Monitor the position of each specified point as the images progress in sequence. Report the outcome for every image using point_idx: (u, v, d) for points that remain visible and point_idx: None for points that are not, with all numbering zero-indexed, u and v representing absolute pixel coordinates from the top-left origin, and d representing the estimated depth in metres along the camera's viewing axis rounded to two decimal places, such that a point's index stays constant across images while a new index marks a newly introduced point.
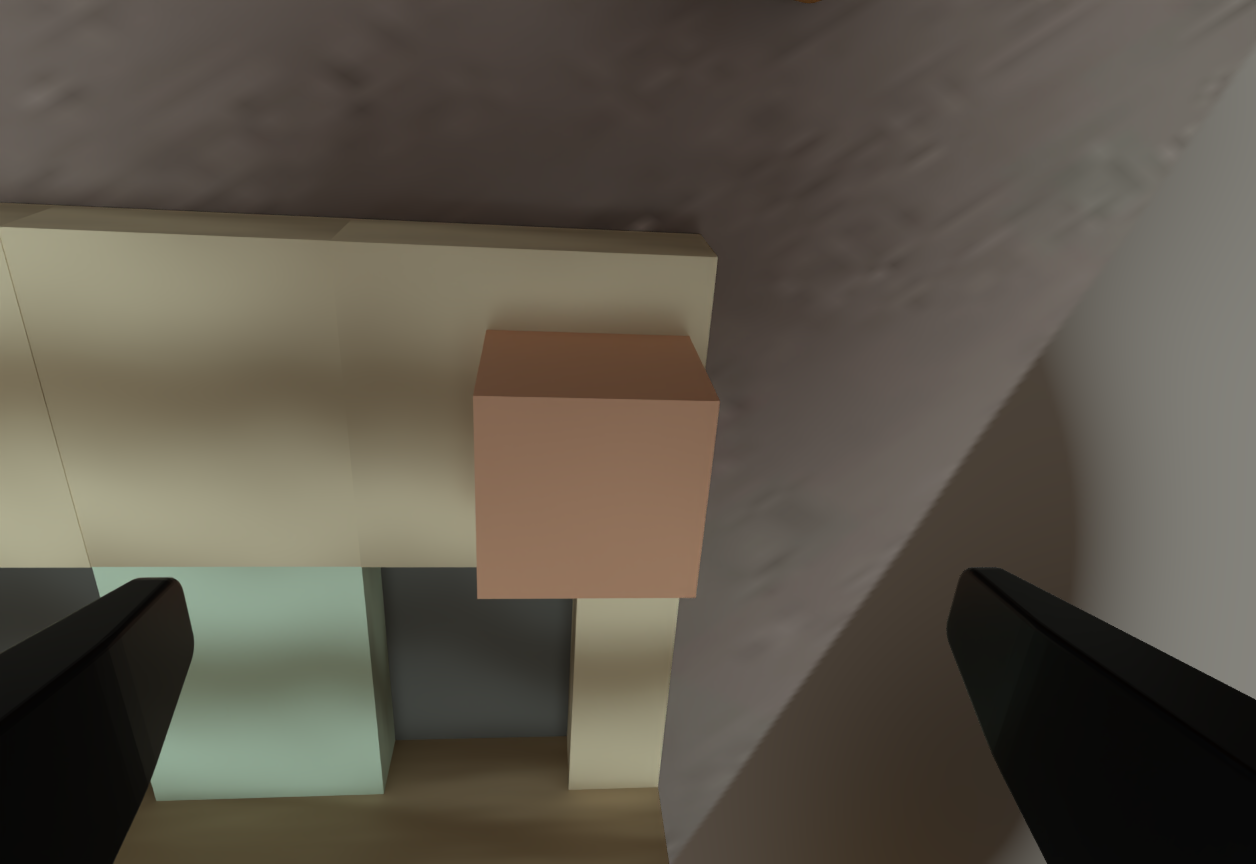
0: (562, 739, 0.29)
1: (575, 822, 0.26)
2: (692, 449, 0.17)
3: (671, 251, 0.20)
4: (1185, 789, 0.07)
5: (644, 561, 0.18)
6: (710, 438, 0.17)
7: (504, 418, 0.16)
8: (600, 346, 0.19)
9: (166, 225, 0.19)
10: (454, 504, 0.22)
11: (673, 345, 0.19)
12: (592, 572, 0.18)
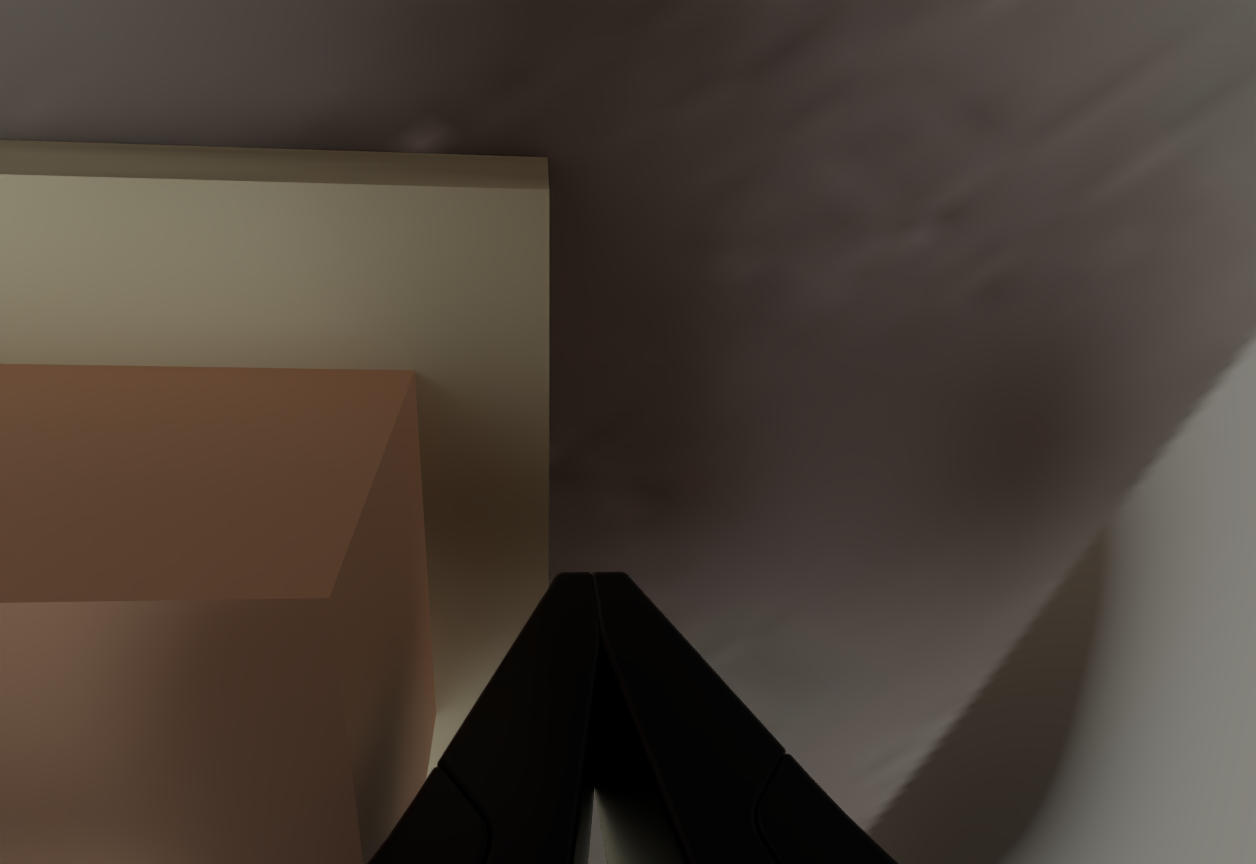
0: None
1: None
2: (277, 727, 0.06)
3: (444, 180, 0.08)
4: (644, 813, 0.06)
5: None
6: (324, 699, 0.06)
7: None
8: (153, 404, 0.08)
9: None
10: None
11: (353, 396, 0.08)
12: None
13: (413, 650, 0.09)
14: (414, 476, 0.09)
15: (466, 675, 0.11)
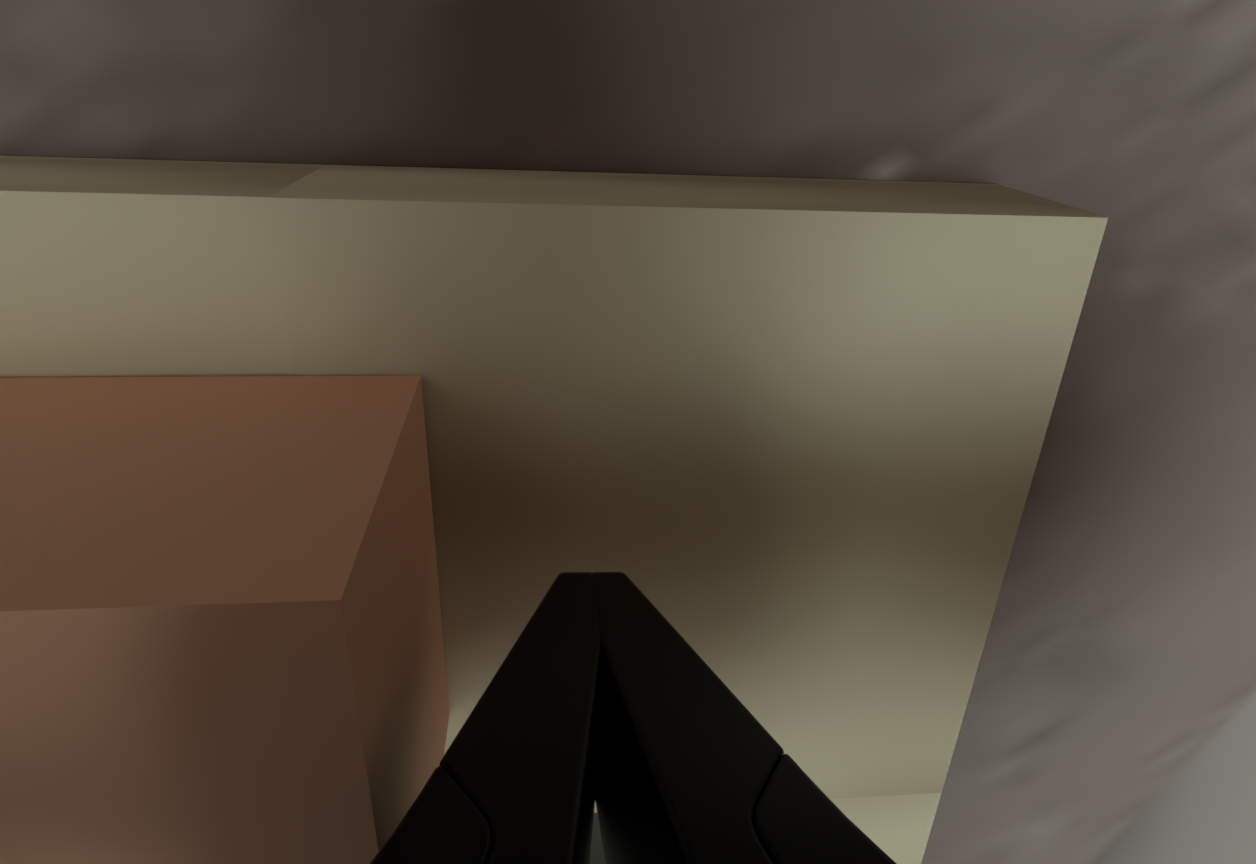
0: None
1: None
2: (293, 728, 0.06)
3: (1000, 208, 0.09)
4: (643, 813, 0.06)
5: None
6: (339, 699, 0.06)
7: None
8: (167, 414, 0.08)
9: None
10: None
11: (361, 401, 0.08)
12: None
13: (425, 650, 0.09)
14: (423, 479, 0.09)
15: (908, 661, 0.12)
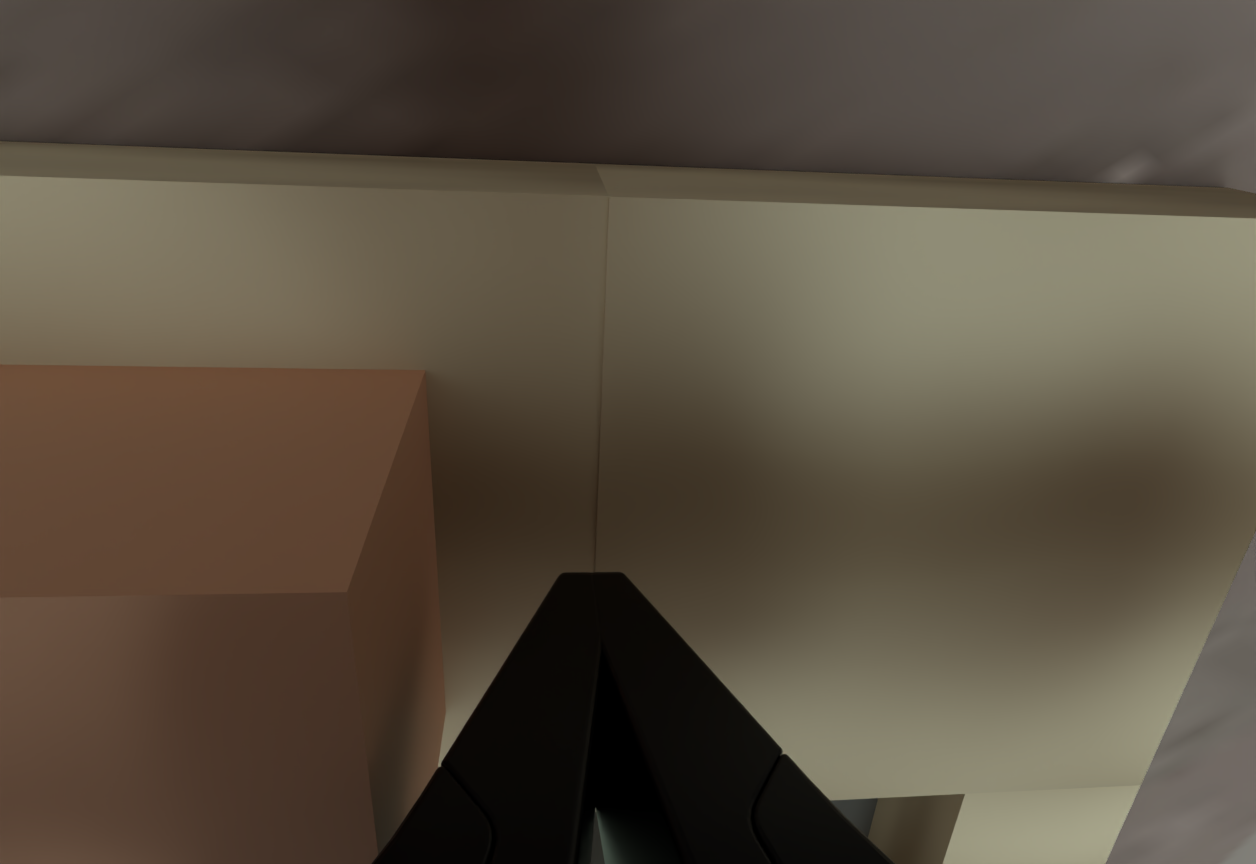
0: None
1: None
2: (295, 721, 0.06)
3: None
4: (641, 813, 0.06)
5: None
6: (341, 692, 0.06)
7: None
8: (168, 403, 0.08)
9: (243, 171, 0.09)
10: (770, 702, 0.12)
11: (365, 394, 0.08)
12: None
13: (424, 647, 0.09)
14: (425, 475, 0.09)
15: (1132, 655, 0.12)
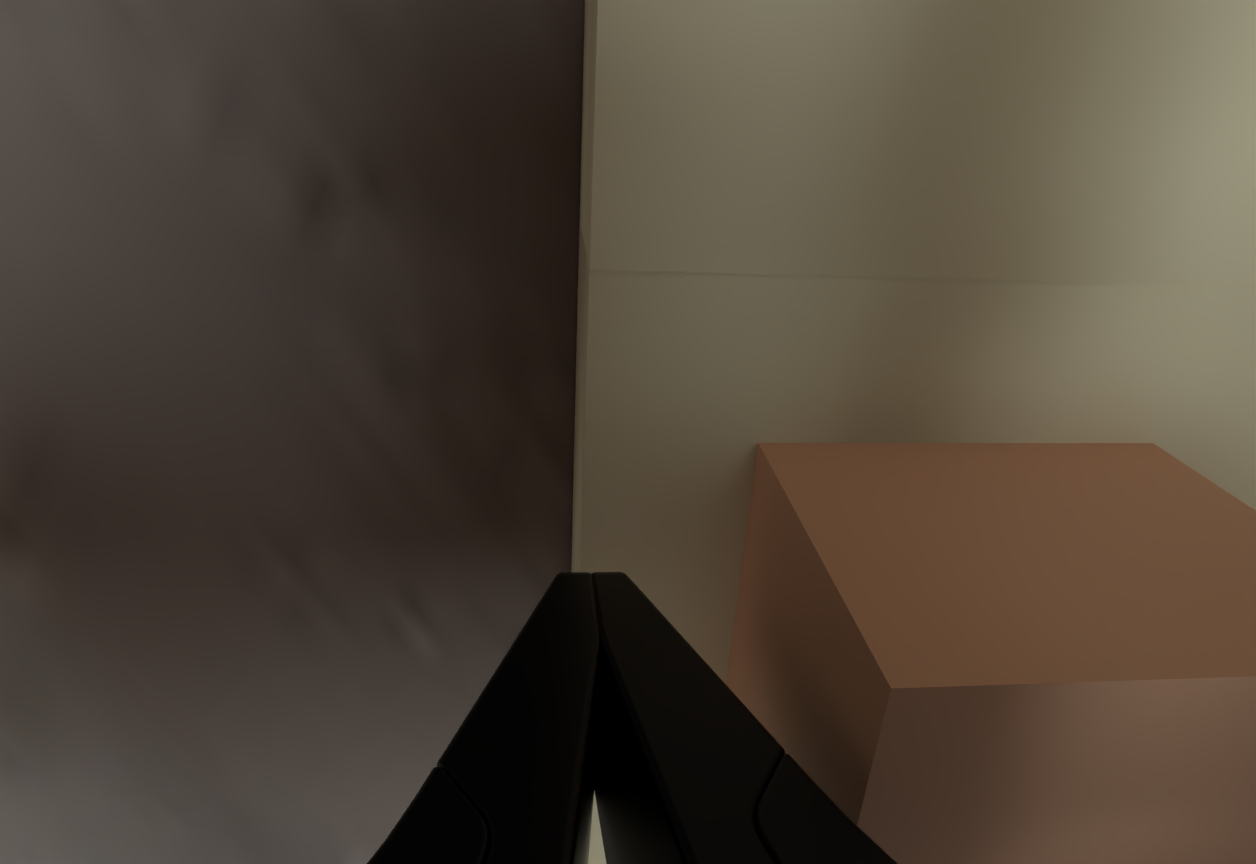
0: None
1: None
2: (1019, 729, 0.06)
3: None
4: (643, 813, 0.06)
5: None
6: (998, 697, 0.06)
7: None
8: (754, 652, 0.10)
9: (577, 538, 0.11)
10: None
11: (767, 511, 0.09)
12: None
13: (1041, 497, 0.09)
14: (859, 461, 0.09)
15: None
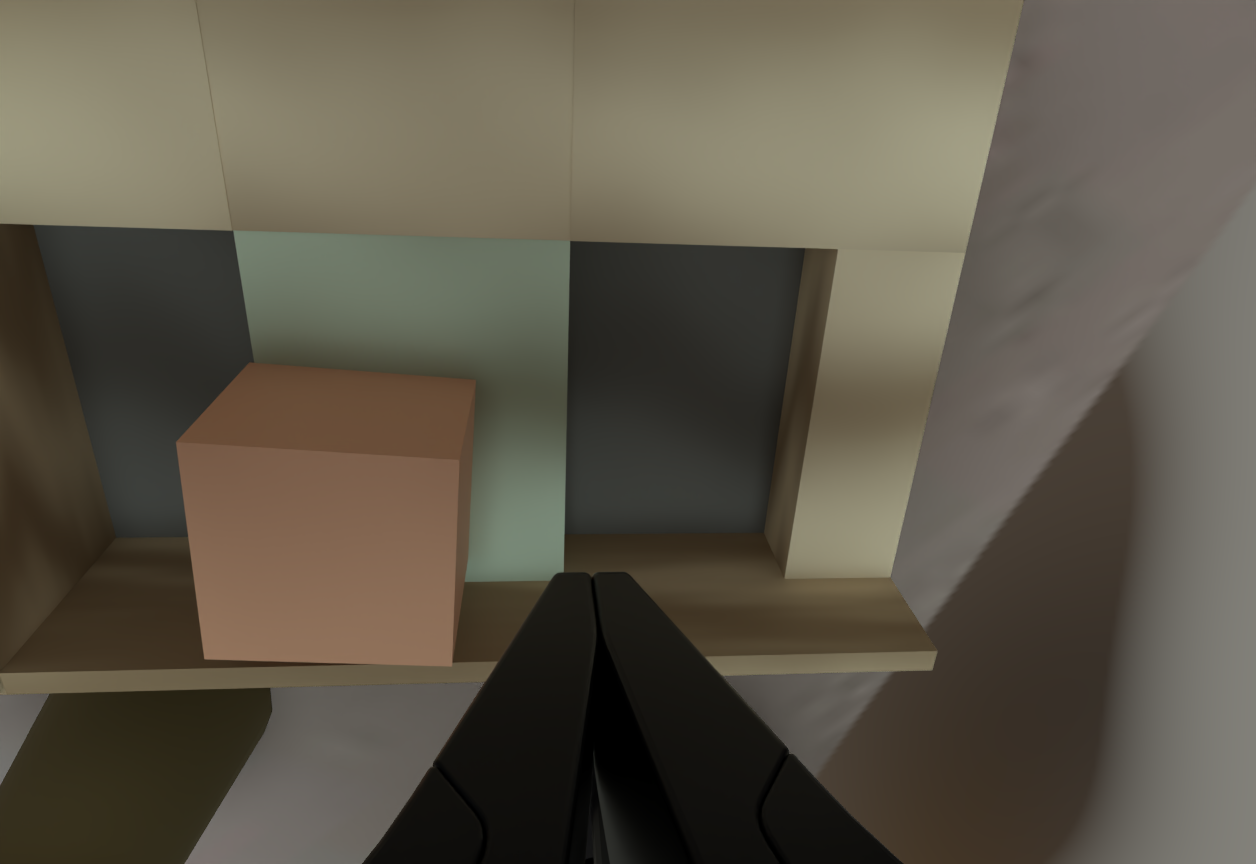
0: (759, 535, 0.24)
1: (804, 607, 0.21)
2: (432, 509, 0.16)
3: None
4: (648, 812, 0.06)
5: (390, 626, 0.17)
6: (452, 499, 0.15)
7: (215, 468, 0.15)
8: (365, 388, 0.18)
9: None
10: (696, 146, 0.17)
11: (450, 389, 0.18)
12: (332, 635, 0.17)
13: (467, 511, 0.19)
14: (472, 429, 0.19)
15: (946, 123, 0.17)
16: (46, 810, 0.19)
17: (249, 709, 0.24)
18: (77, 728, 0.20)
